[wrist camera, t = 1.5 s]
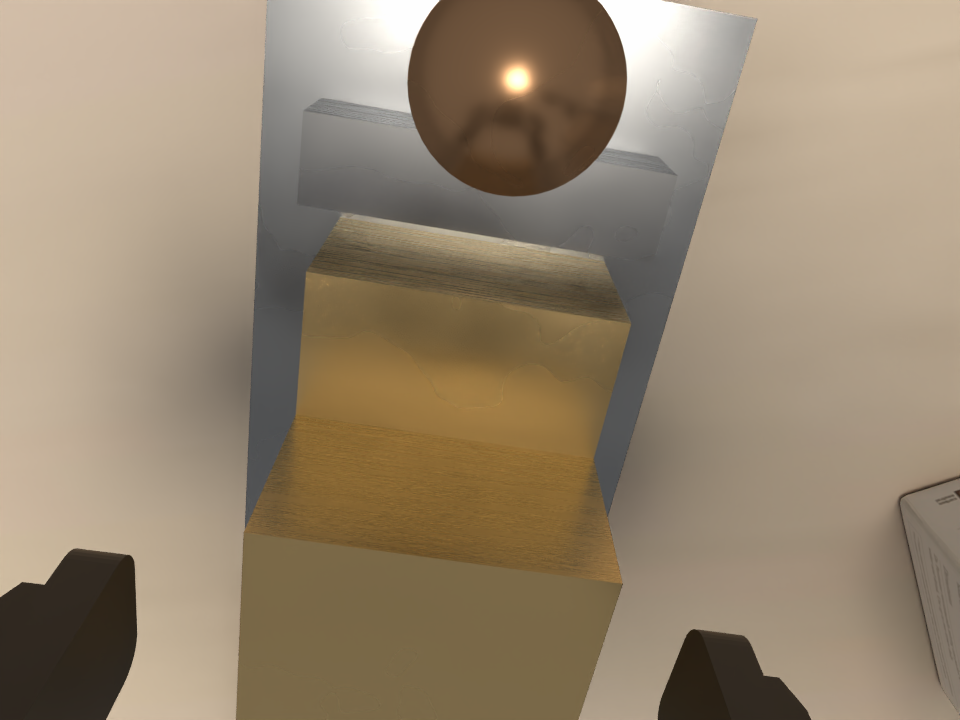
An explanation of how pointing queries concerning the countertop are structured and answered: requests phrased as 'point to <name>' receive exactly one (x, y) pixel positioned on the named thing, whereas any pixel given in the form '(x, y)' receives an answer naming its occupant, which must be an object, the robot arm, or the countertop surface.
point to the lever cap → (436, 488)
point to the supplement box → (938, 573)
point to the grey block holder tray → (487, 156)
